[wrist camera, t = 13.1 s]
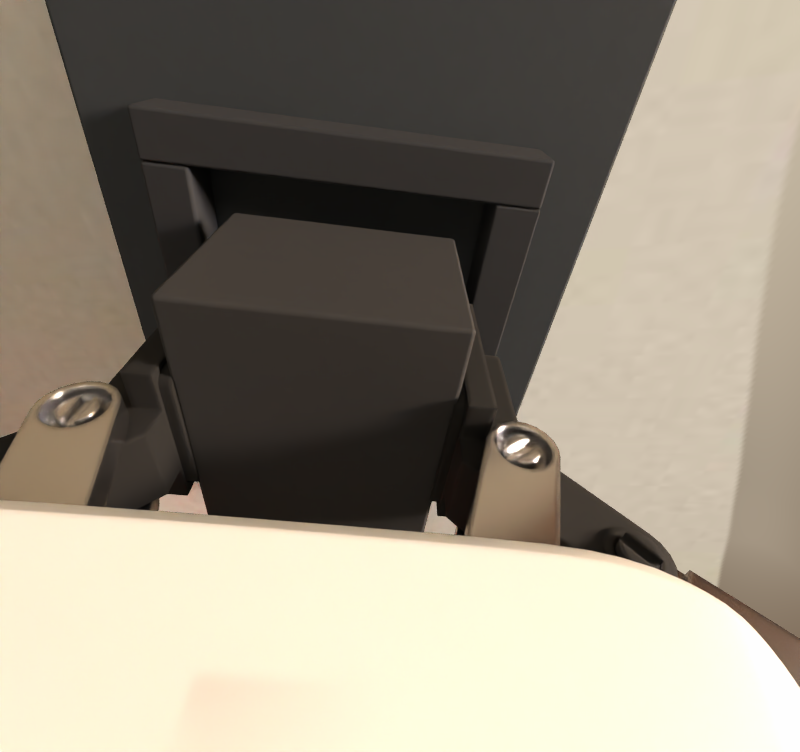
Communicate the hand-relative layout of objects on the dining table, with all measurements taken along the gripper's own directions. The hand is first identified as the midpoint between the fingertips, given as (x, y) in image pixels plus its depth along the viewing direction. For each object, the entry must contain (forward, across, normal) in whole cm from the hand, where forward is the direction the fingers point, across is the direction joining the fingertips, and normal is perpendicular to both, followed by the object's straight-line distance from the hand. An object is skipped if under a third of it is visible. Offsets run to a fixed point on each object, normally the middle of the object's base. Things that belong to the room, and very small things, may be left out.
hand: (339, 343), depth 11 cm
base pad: (+3, 0, 0) cm, 3 cm away
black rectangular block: (0, 0, 0) cm, 0 cm away
